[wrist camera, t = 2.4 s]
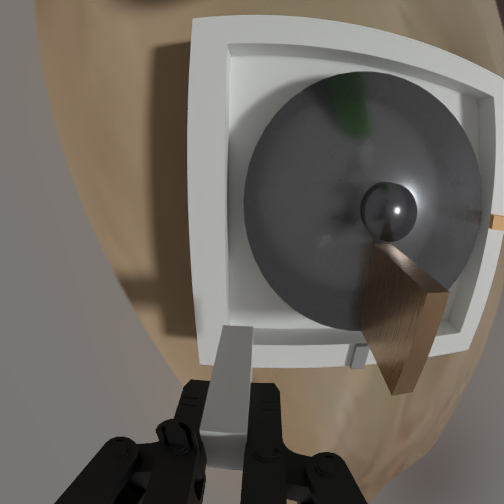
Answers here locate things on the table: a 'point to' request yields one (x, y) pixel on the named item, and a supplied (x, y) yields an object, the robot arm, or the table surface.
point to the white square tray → (242, 147)
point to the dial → (366, 212)
